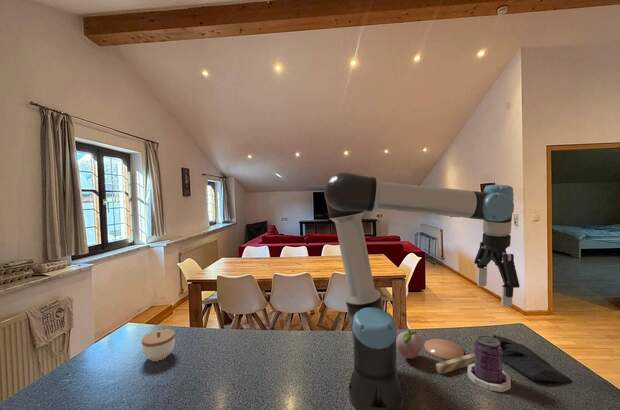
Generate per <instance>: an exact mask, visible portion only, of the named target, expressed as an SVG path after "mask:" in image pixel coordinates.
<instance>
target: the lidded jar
mask: <svg viewBox="0 0 620 410" xmlns="http://www.w3.org/2000/svg"><path fill="white" fill-rule="evenodd" d="M175 340H176V332H175V330H173V329H169V328H165V329H164V328H163V329H159V330H155V331H152V332H150V333H147V334H146V335H144V336H143V337H142V339H141V344H142V351H143V354H144V356H145V357H146V358H147V359H148V360H150V361H151V360H152V361H151V362H154V361H156V362H159V361H158V360H161V361H163V360H165V359H167V358H168V357H169V356H170V354H171V353H172V352H173V351H174V347H175V345H176V344H175V343H176V341H175ZM168 355H169V356H168ZM167 356H168V357H167ZM166 357H167V358H166ZM164 358H165V359H164ZM162 359H163V360H162Z"/></svg>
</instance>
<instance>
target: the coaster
mask: <svg viewBox="0 0 620 410" xmlns="http://www.w3.org/2000/svg"><path fill="white" fill-rule="evenodd" d="M424 350H425V351H426V353H428V354H429V355H431V356H433V357H435V358H438V359H441V360H445V361H447V360H451V359H454V358H458V357H461V356H465V351H464V349H463V347H461V345H459V344H457V343H456V342H453V341H450V340H447V339H441V338H431V339H430V338H429V340H428V339H427V340H426V341H424Z"/></svg>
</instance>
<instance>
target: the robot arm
mask: <svg viewBox="0 0 620 410" xmlns="http://www.w3.org/2000/svg"><path fill="white" fill-rule="evenodd" d="M323 191H324V192H323V194H324V199H325V202H326V207H327V212H328V218H329V220H331V221H332V222H334V224H335V229H336V233H337V239H338V244H339V249H340V255H341V259H342V264H343V271H344V276H345V281H346V285H347V291H348V293H347V295H346V296H345V299H344V300H345V304H346V308H347V317H348V321H349V324H350V329H351V334H352V340H353V341H352V343H353V370H352V373H351V377H350V380H349V383H348V389H347V390H348V398H349V399H348V400H349V402H350V403H351V405H352V406H353V408H355V410H402V409H403V407H404V401H405V400H404V391H403V388H402V385H401V383H400V380H399V377H398V373H397V345H396V340H397V326H396V321H395V318H394V317H393V316H392V314H391V313H389V312H388V311H385V310H384V305H383V301H382V295H381V293H380V292H379V290H377V289H376V288H375V283H374V278H373V273H372V268H371V263H370V258H369V251H368V248H367V242H366V237H365V231H364V227H363V222H362V217H363V216H364V214H365V213H366V212H370V213H372V212H374V211H375V210H378V209H379V210H387V211H395V212H396V211H397V212H407V213H418V214H424V215H425V214H426V215H427V214H428V215H434V216H444V217H446V216H447V217H449V218H458V219H459V218H466V219H470V220H471V219H472V220H473V219H474V220H482V221H483V223H482V232H483V233H482V241H480V242H479V249H478V250H477V253H476V257H475V259H474V262H473V263H474V264H475V265H476V267H477V287H487V280H488V279H487V278H488V264H490V263H491V261H492V262H493V263H494V265H495V266H497V269H498V271H499V275H500V277H501V280H502V281H503V282H502V283H503V285H502V286H501V303H500V305H501V306H502V307H512V306H513V297H514V289H515V288H517V289H519V288H520V282H519V279H518V273H517V268H516V265H515V259H514V258H515V257H514V256H515V255H514V254H513V253H507V249H508V248H510V246H511V243H512V242H511V238H512V236H511V235H510V234H511V233H512V221H513V220H512V219H513V214H514V211H515V204H514V200H515V199H514V188H513V187H512V186H511V185H508V184H490V185H485V187H484V190H483V191H477V190H475V191H473V190H467V189H457V188H456V189H455V188H448V187H438V186H437V187H436V186H429V185H427V186H425V185H416V184H405V183H399V182H397V183H396V182H389V181H387V182H385V181H380V179H378V178H377V177H375V176H365V175H361V174H355V173H352V172H346V171H345V172H339V173H336V174H334V175H332V176H330V177H329V179H328V180H327V182H326V185H325V186H324V190H323Z"/></svg>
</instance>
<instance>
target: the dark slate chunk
mask: <svg viewBox="0 0 620 410" xmlns="http://www.w3.org/2000/svg"><path fill="white" fill-rule="evenodd" d="M492 337H493V338H495V339H497V340H499V341H500V346H501V348H502V363H505V364H507V365H508V366H509V367H511V368H512V369H513V370H516V371H517V372H518V373H519V374H520V375H523V376H525V377H526V378H529V379H530V380H532V381H540V382H554V383H569V382H571V381H573V380H572V379H571V377H568V376H566V375H565V374H564V373H562V372H561V371H559V370H558V369H556V368H555V367H554V366H552V364H550V363H549V362H548V361H546V360H545V359H544V358H542V356H540V355H538V354H537V353H536V352H534V351H533V350H532V349H530V348H529V347H527V346H526V345H525V344H521V343H518V342H516V341H514V340H512V339H509V338H507V337H503V336H499V335H493V336H492Z"/></svg>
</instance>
